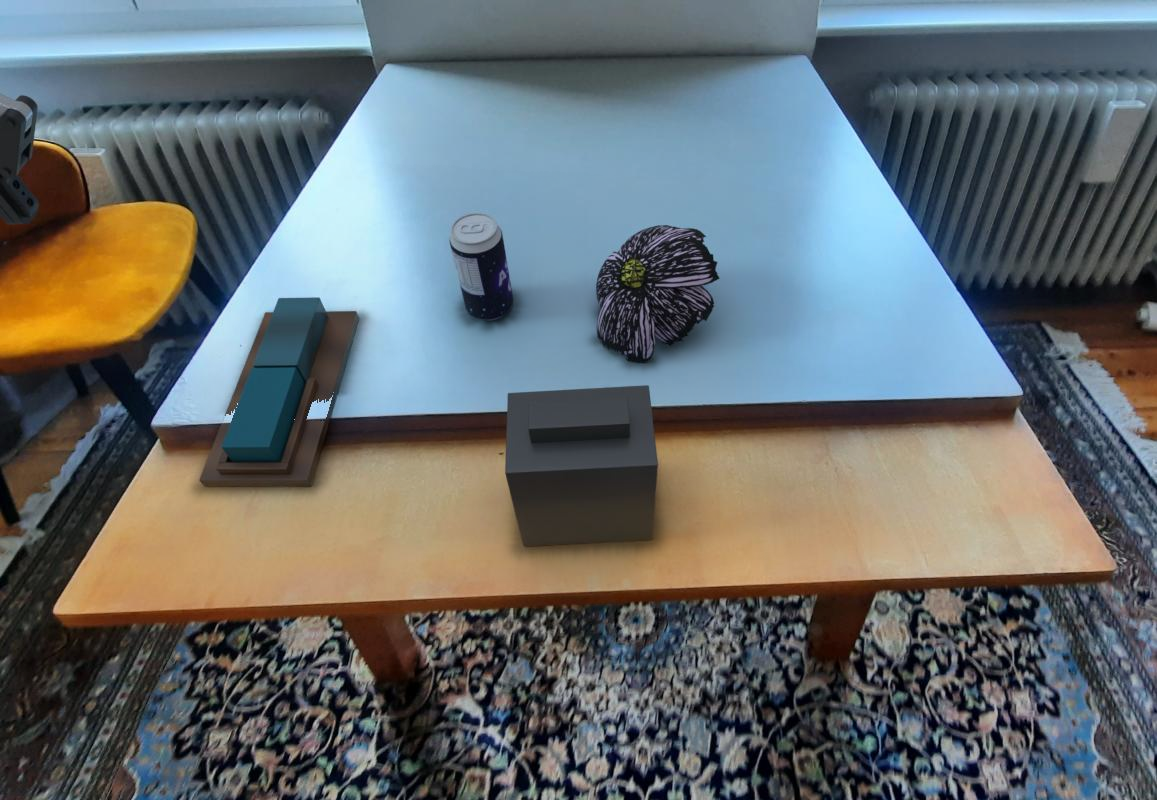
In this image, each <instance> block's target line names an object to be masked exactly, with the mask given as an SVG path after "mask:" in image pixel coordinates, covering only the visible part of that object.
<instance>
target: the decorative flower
mask: <svg viewBox="0 0 1157 800" xmlns="http://www.w3.org/2000/svg"><path fill="white" fill-rule="evenodd" d="M705 238H707V236H706V234H704V233H703V232H702V231H701V230H699V229H698V228H696V229H695V228H691V227H677V226H672V225H668V224H663V225H662V224H660V225H659V224H658V225H654V226H649V227H647V228H644V229H641V230H640V231H639V230H638V232H636V233H634V234H633V235H631V236H630V237H629V238H628V239H627V240H626V241H625V242H624V243H623V244H622V245H621V247H620V248H619V250H618V251H612V252H611V254H609V256H608V257H607V258H606V259H605V260H604V262H603V263H602V265H601V267H600V269H599V272H598V274H597V278H596V285H595V289H596V290H595V291H596V292H595V294H596V299H597V304H598V306H599V312H598V314H597V319H596V320H597V321H596V335H597V338H598V340H600V341H601V343H602V346H603V347H604V348H605V347H606V348H607V349H608V350H610V349H611V350H612V351H613V352H619V353H620V355H621V356H624V357H626V359H627V362H632V363H637V364H646V363H648V362H649V361H650V360H651V359H652V357H653V356H654V353H655V347H656V340H658V341H660V343H662V344H664V345H666V346H669V347H671V346H672V345H674V344H675V343H677V342H684V338H687V337H689V333H690V332H691V331H692V330H693V329H694V327H695V325H696V324H697V325H698V324H700V322H703V321H705V322H707V321H708V319H709V317H710V315H711V314H712V312H713V309H714V307H715V301H714V298H713V296H712V294H711V293H710V292H709V290H708V289H706V288H705V287H704V286H706V285H710V284H712V283H714V282H716V281H717V280H719V279H720V276H719V275H718V274H719V273H718V272H717V265H718V261H716V260H715V259H714V254H713V253H711V252H710V250H709V249H708V246H706V244H705V240H704V239H705Z"/></svg>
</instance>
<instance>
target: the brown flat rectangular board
mask: <svg viewBox="0 0 1157 800" xmlns="http://www.w3.org/2000/svg"><path fill="white" fill-rule="evenodd" d="M359 321H360V317H359V314H358V312H357V310H337V311H336V310H334V311H333V310H332V311H330V310H329V311H327V310H326V308H325V305H324V304H323V302H322V299H321V298H320V297H314V296H313V297H278V298H277V301H276V304H275V306H274V309H273V311H269V312H268V311H267V312H265V313H264V314H263V317H262V320H261V322H260V324H259V326H258V330H257V332H256V335H255V336H254V340H253V342H252V345H251V348H250V350H249V353H248V355H247V357H246V360H245V363H244V365H243V368H242V371H241V373H240V375H239V377H238V381H237V383H236V385H235V388H234V390H233V392H232V393H233V394H232V396H231V398H230V401H229V403H228V406H227V409H226V411H225V414H224V416H226V414H229V415H231V411H232V413H233V411H234V409H235V410H236V407H237V403H238V402H239V400H240V397H241V395H242V392H243V389H244V387H245V384H246V381H247V379H248V376H249V374H250V371H251V368H296V369H297V370H298V372H299V374H300V376H301V378H302V379H303V381H304V383H305V385H306V386H305V389H304V392H303V395H302V398H301V402H300V405H299V408H298V411H297V414H296V417H295V420H294V423H293V426H292V430H291V433H290V436H289V439H288V442H287V445H286V448H285V451H284V454H283V458H282V461H281V462H240V463H233V461H232V460H231V459H230V458H229V456H228V455H227V454H226V453H225V451H224V450H223V449H222V444H223V442H224V439H225V436H226V434H227V431H228V428H229V426H230V424H222V423H221V424H220V426H219V429H218V432H217V435H216V436H215V439H214V441H213V444H212V446H211V449H210V451H209V455H208V457H207V459H206V461H205V465H204V467H203V469H202V472H201V474H200V477H199V479H198V480H199V482H200V483H201V484H202V485H203V487H312V485H313V481H314V478H315V474H316V471H317V467H318V463H319V460H320V457H321V453H322V449H323V446H324V442H325V439H326V436H327V433H328V430H329V424H330V422H331V418H332V414H333V411H334V407H335V405H336V401H337V397H338V393H339V390H340V387H341V383H342V380H343V376H344V372H345V369H346V366H347V362H348V358H349V355H350V351H351V347H352V345H353V340H354V337H355V334H356V330H357V327H358V323H359ZM333 392H334V393H333ZM332 395H333V397H332ZM331 397H332V400H331V404H330V407H329V411H328V414H327V417H326V421H323V420H322V421H320V420H319V421H313V420H312V421H307V420H306V419H307V416H308V413H309V410H310V407H311V404H312V402H314V401H316V400H317V403H318V399H319V402H321V401H322V400H324V403H325V399H326V402H327V401H329V399H330V398H331Z"/></svg>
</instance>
